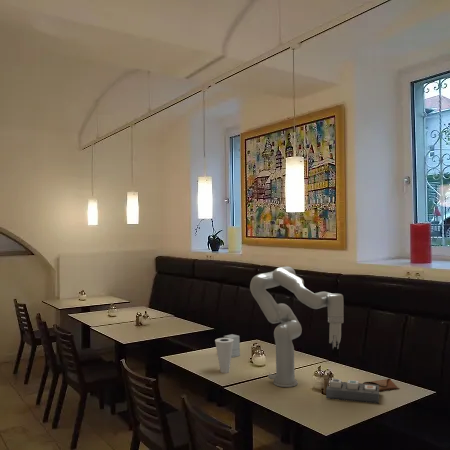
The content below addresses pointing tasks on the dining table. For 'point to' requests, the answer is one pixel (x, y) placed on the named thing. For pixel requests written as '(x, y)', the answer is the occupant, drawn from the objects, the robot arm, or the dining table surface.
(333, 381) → the key left
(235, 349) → the supplement box
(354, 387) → the key mid
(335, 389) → the block
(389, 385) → the sunglasses case
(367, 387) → the key right
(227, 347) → the cup
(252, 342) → the dining table surface
